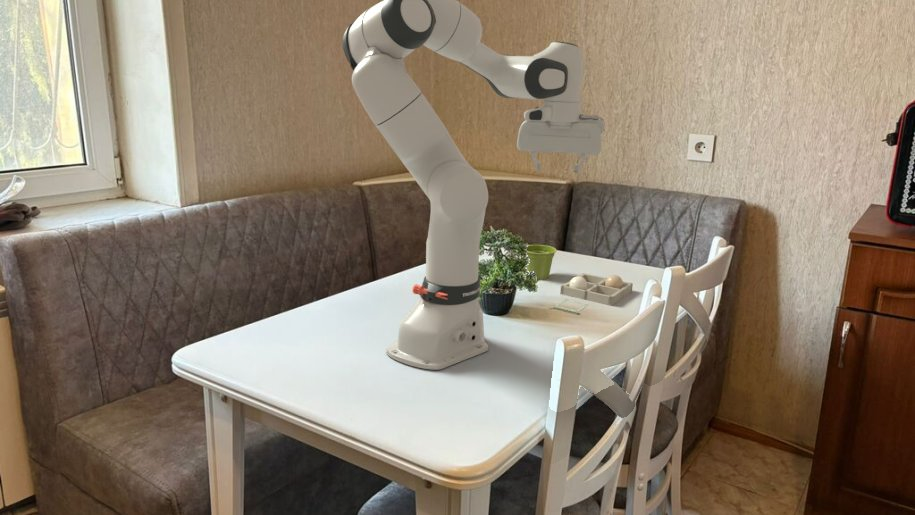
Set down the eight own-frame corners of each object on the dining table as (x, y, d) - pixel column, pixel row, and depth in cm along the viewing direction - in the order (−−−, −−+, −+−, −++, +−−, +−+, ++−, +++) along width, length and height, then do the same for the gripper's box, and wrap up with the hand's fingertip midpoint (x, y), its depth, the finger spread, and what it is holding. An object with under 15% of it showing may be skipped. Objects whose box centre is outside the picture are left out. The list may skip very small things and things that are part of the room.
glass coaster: (577, 314, 166) (577, 311, 166) (553, 309, 169) (553, 306, 169) (588, 307, 171) (588, 304, 171) (565, 302, 174) (565, 299, 174)
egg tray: (611, 308, 171) (612, 297, 170) (560, 296, 178) (560, 285, 177) (631, 294, 182) (632, 283, 181) (582, 283, 189) (583, 273, 188)
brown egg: (618, 296, 177) (619, 279, 176) (601, 292, 180) (603, 275, 179) (624, 291, 181) (626, 275, 180) (608, 288, 184) (610, 271, 182)
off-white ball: (584, 297, 176) (581, 282, 174) (567, 296, 178) (565, 281, 177) (591, 289, 179) (588, 273, 177) (575, 288, 182) (572, 272, 180)
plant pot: (514, 275, 195) (516, 246, 192) (543, 272, 198) (544, 243, 196) (531, 285, 186) (533, 254, 184) (560, 281, 190) (562, 251, 188)
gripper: (604, 114, 165) (599, 171, 169) (519, 110, 168) (516, 167, 172) (606, 116, 159) (600, 175, 163) (518, 112, 162) (514, 170, 166)
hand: (557, 171), depth 167 cm, fingers open, 8 cm apart
